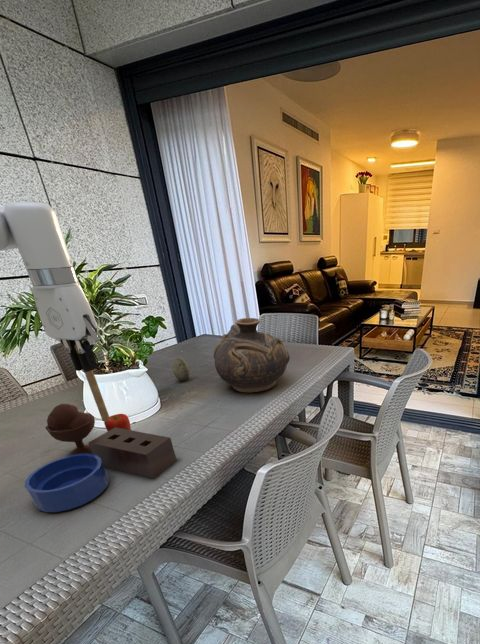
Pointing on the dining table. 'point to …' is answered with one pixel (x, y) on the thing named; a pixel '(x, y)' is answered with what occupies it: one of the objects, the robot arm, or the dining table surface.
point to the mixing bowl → (67, 482)
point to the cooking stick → (96, 393)
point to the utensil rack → (134, 452)
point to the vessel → (250, 357)
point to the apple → (118, 422)
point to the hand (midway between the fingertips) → (87, 368)
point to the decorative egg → (181, 369)
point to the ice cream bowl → (70, 426)
